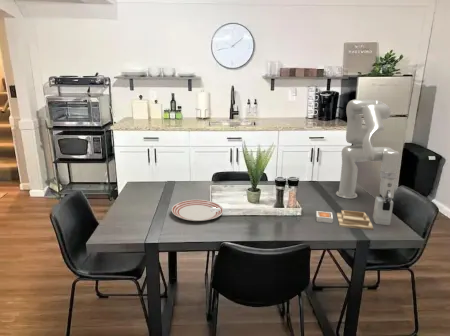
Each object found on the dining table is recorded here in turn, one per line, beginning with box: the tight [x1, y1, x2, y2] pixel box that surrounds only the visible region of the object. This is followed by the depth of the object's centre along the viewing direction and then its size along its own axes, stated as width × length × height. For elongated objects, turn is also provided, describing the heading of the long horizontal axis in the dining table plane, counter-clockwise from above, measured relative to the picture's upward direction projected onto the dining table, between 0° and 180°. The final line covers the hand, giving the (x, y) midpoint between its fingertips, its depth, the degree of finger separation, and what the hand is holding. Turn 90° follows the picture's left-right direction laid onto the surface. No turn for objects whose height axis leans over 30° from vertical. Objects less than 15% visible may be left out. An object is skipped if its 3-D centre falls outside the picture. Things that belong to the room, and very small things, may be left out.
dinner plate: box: [171, 199, 224, 222], centre depth 193 cm, size 27×27×3 cm
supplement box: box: [372, 196, 394, 226], centre depth 187 cm, size 7×7×13 cm
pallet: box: [336, 209, 374, 231], centre depth 187 cm, size 16×16×4 cm
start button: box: [320, 211, 329, 217], centre depth 190 cm, size 5×5×2 cm
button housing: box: [315, 210, 334, 224], centre depth 190 cm, size 8×8×3 cm
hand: (383, 206), depth 186 cm, fingers open, 9 cm apart
